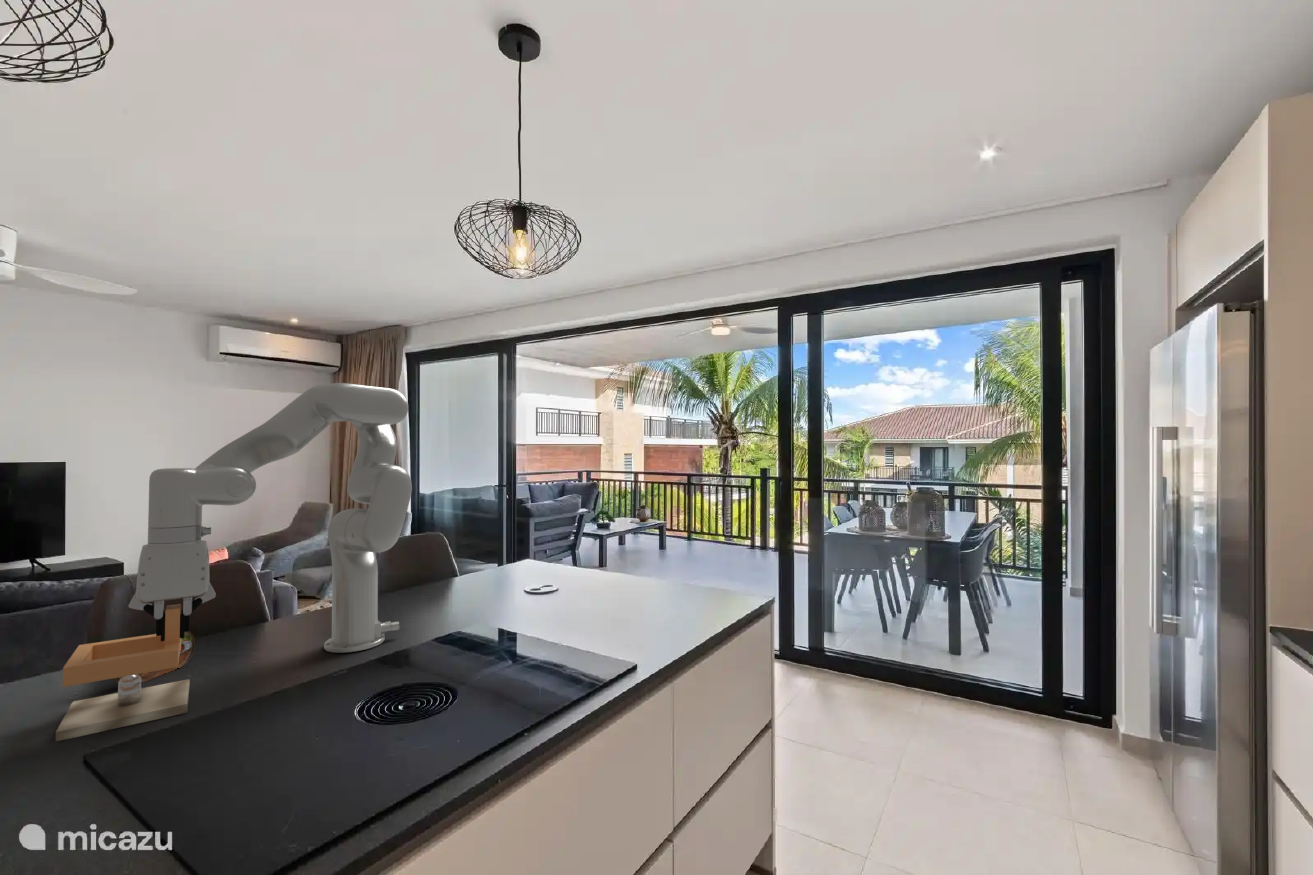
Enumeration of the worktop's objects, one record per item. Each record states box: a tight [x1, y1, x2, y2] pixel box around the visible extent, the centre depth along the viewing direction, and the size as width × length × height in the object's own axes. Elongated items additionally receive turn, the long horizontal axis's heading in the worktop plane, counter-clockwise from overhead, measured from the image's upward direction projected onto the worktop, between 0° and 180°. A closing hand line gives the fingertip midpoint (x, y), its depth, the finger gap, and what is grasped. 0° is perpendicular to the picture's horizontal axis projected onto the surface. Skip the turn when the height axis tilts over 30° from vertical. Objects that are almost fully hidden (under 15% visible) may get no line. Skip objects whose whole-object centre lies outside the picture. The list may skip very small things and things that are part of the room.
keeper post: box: [117, 674, 142, 707], centre depth 101 cm, size 3×3×5 cm
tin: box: [112, 631, 196, 684], centre depth 117 cm, size 15×3×8 cm, turn 168°
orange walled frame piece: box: [62, 603, 182, 688], centre depth 101 cm, size 14×14×9 cm
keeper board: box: [55, 678, 191, 742], centre depth 101 cm, size 16×14×2 cm
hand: (172, 637), depth 105 cm, fingers closed on orange walled frame piece
